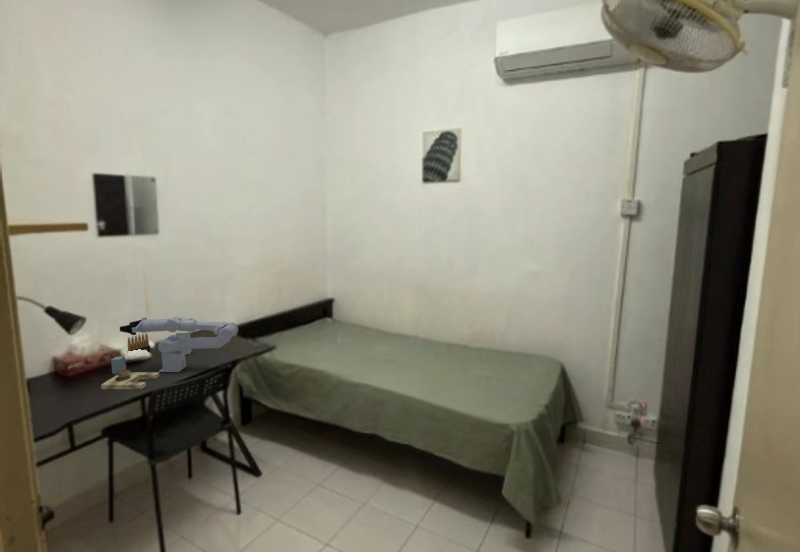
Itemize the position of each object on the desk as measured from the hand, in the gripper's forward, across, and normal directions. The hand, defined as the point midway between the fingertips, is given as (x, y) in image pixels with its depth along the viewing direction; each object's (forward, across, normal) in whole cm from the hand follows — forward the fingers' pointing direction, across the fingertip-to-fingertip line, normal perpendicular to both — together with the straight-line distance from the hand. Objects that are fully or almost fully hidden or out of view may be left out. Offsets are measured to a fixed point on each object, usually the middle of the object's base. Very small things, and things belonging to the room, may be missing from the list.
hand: (125, 326), depth 202 cm
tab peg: (+3, +3, +21) cm, 21 cm away
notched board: (-9, +16, +22) cm, 28 cm away
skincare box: (-15, -22, +22) cm, 35 cm away
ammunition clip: (+5, -17, +21) cm, 27 cm away
